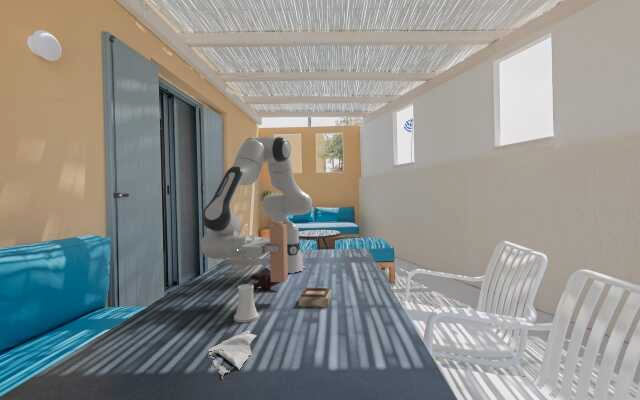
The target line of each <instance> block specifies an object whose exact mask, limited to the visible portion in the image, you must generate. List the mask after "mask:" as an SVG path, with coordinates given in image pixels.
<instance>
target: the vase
mask: <svg viewBox="0 0 640 400" xmlns="http://www.w3.org/2000/svg"><path fill="white" fill-rule="evenodd" d="M254 289H255V288H254V285H252V284H250V283H249V284H241V285H238V286H237V291H238V292H237V293H238V302H237V303H238V304H237V308H236V312H235V314H234V315H233V320H234V322H237V323H251V322H254V321H257V320H258V319H259V317H260V316H259V315H260V314H259V312H258V311H257V309H256V304H255V302H254Z"/></svg>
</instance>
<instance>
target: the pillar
mask: <svg viewBox="0 0 640 400" xmlns="http://www.w3.org/2000/svg"><path fill="white" fill-rule="evenodd" d="M269 238H270V246H279V251H277V252H269V258H270V263H269V265H270V272H271V273H270V272H269V273H270V274H271V282H281V283H285V282H286V281H287V280H288V279H289V274H288V259H287V224H282V222H273V224H271V225H269Z"/></svg>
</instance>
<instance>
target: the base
mask: <svg viewBox="0 0 640 400" xmlns="http://www.w3.org/2000/svg"><path fill="white" fill-rule="evenodd" d="M331 300H332V289H330V287H305V288H304V289H303V291H302V292H301V293H300V294H299V296H298V306H299V307H320V308H321V307H326V308H327V307H329V305H330V302H331Z"/></svg>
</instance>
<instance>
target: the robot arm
mask: <svg viewBox="0 0 640 400" xmlns="http://www.w3.org/2000/svg"><path fill="white" fill-rule="evenodd" d="M291 151H292V150H291V145H290V142H289V140H287V139H286V138H284V137H280V136H277V137H276V136H260V137H259V136H258V137H254V136H253V137H249V138H247V139H245V141H244V142H243V143H242V145H241V146H240V148H239V150H238V152H237V154H236V157H235V159H234V161H233V163H232V165H231V167H230V168H228V169H227V171H226V173H225V174H224V176H223V178H222V179H221V182H220V183H219V186H218V187H217V190H216V191H215V194H214V195H213V197H212V199H211V200H210V201H209V203H207V205H206V206H205V207H204V209H203V211H202V215H201V221H202V224H203V226H204V227H205V228H206V229H209V231H208V232H207V233H206V235H204V236H203V237H201V239H200V250H201V252H202V254H203V255H204V256H205V257H206V258H209V259H216V260H217V259H218V260H226V259H232V260H233V259H234V260H250V258H259V257H262V256H263V255H265V254H268V253H270V252H277V251H279V246H270V237H266V236H264V237H263V236H257V235H251V234H241V231H242V227H243V226H242V225H243V224H242V220H241V219H240V218H239V216H237V215H236V214H235V212H233V211H232V210H231V203H232V200H233V199H234V196H235V194H236V192H237V190H238V188H239V187H240V186H250V185H252V184H254V183H256V181H257V180H258V178H259V176H260V173H261V170H262V169H263V168H262V167H263V163H267V168H268V173H269V177H270V183H271V185H272V188H274V189H275V190H278V191H279V192H281V193H279V192H278V193H271V194H267V195H265V196H264V197H263V198H262V202H261V207H262V209H263V212H264V213H265V214H266V215H267V216H269V217H270V219H271V220H272V222H273V223H274V222H282V224H287V259H288V273H290V274H296V273H295V272H298V273H300V272H299V271H301V272H303V271H304V269H303V268H305V269H306V266H304V260H303V253H302V252H301V250H300V249H301V244H300V237H299V236H300V235H299V234H300V232H299V231H300V230H299V227H298V225H297V224H296V223H294V222H292V221H290V219H289V217H288V216H302V215H305V214H309V213H310V212H311V210H312V208H313V199H312V197H311V196H310V195H309V193H307V192H305V191H303V190H302V189H301V188H300V187H299V186H298V184H297V182H296V180H295V175H294V171H293V166H292V162H291V159H290V158H291V157H290V155H291ZM268 263H269V265H265V269H266V268H267V269H268V270H269V271H270V257H269V258H268ZM267 269H266V270H267ZM268 270H267V271H268ZM302 270H303V271H302ZM269 271H268V272H269Z"/></svg>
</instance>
